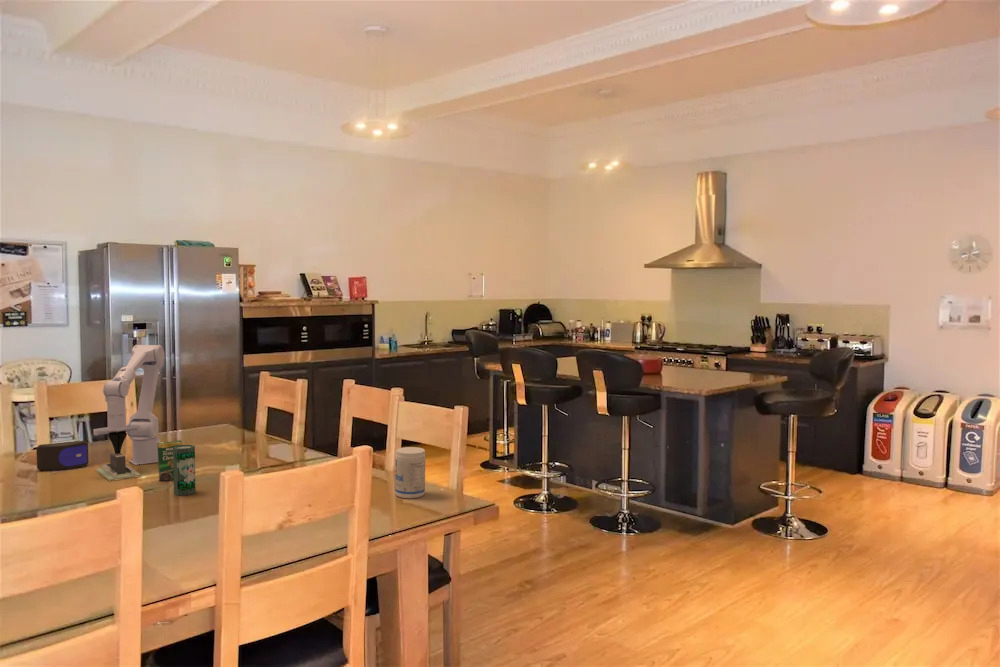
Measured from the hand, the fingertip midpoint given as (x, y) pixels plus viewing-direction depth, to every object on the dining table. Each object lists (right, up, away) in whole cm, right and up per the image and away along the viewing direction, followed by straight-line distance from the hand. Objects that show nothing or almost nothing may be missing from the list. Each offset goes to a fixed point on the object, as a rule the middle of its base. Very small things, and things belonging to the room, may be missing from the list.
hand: (117, 453), depth 269 cm
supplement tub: (+105, -10, -23) cm, 108 cm away
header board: (0, -7, 0) cm, 7 cm away
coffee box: (+21, -8, -6) cm, 24 cm away
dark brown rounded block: (-24, -7, +8) cm, 26 cm away
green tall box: (+33, -9, -23) cm, 41 cm away
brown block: (0, -7, 0) cm, 7 cm away
